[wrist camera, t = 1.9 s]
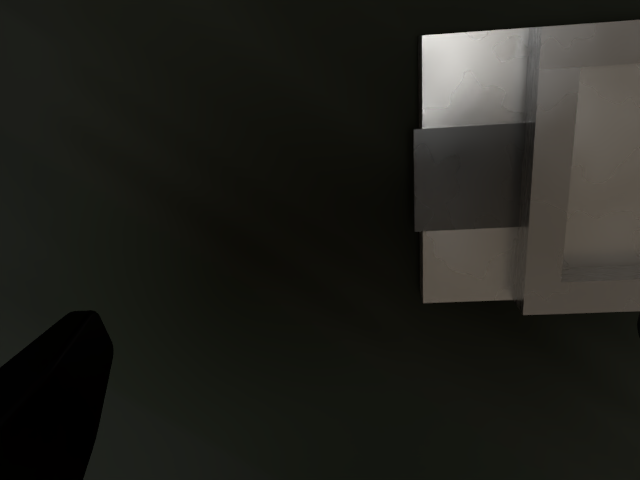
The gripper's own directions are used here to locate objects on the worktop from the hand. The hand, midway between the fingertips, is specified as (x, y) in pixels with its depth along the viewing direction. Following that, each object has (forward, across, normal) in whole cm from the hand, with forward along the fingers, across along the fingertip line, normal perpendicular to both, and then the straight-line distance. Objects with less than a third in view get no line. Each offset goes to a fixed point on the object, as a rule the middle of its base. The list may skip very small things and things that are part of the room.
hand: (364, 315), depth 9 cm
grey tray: (+11, -10, +4) cm, 15 cm away
